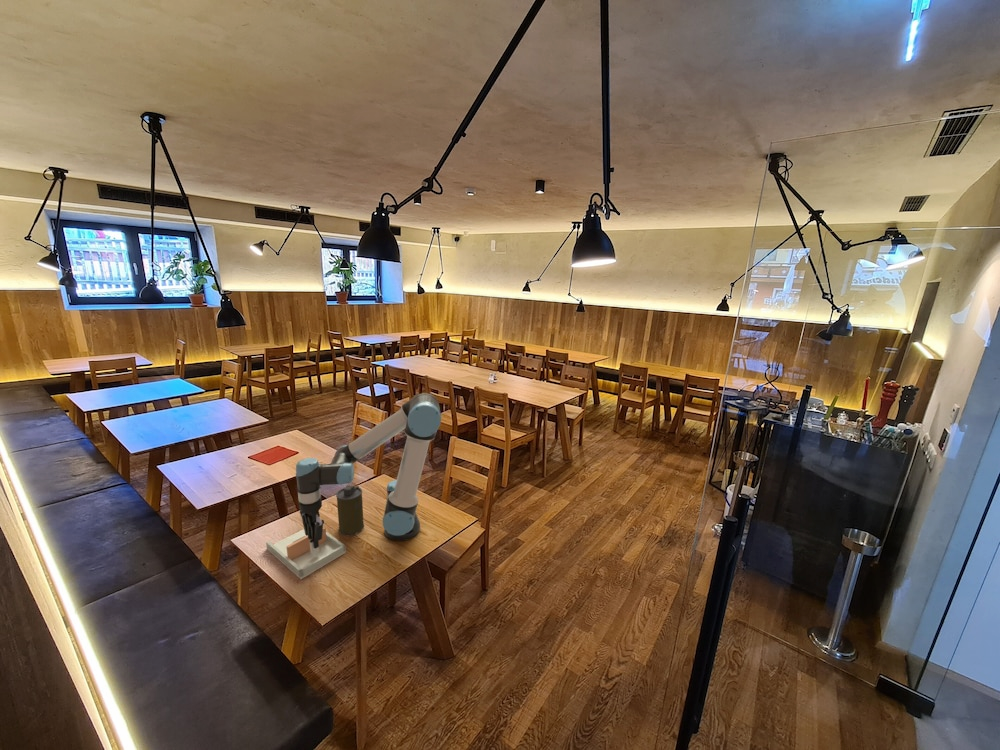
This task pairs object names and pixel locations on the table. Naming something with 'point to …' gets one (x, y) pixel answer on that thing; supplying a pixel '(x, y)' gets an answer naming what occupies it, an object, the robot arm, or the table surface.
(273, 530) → the table surface
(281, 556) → the white tray
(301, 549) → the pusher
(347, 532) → the canister
